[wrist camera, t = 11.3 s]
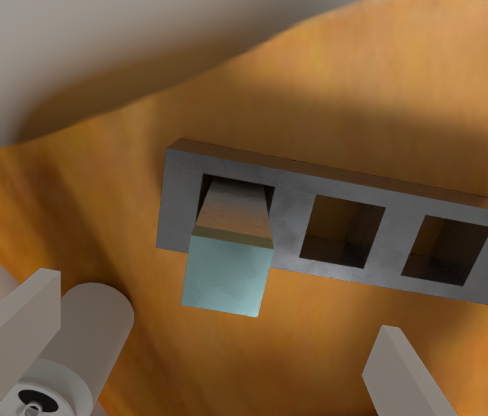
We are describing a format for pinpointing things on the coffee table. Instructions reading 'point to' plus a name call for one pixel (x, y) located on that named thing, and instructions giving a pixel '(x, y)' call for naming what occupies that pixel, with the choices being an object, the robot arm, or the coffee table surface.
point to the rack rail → (362, 228)
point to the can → (74, 355)
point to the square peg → (229, 249)
